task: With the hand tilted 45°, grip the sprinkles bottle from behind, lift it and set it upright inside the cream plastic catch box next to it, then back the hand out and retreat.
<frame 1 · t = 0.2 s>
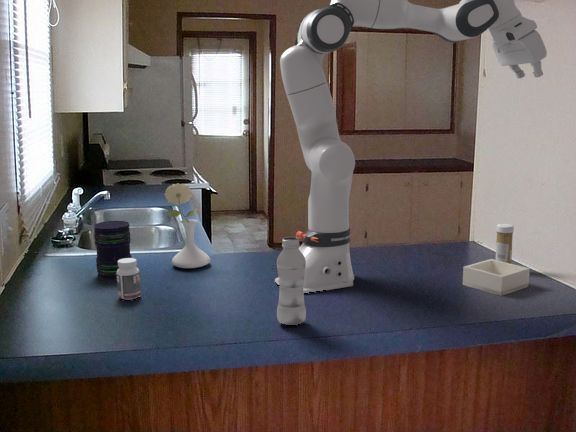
hand: (530, 76, 182), 54 cm above the countertop, tool tilted 30°, fingers open, 8 cm apart
plastic bottle: (291, 324, 153), on the countertop
pill bottle: (129, 298, 172), on the countertop
sprinkles bottle: (502, 271, 191), on the countertop
flower in vase: (188, 266, 200), on the countertop
storage jar: (115, 276, 192), on the countertop
catch box: (495, 285, 178), on the countertop
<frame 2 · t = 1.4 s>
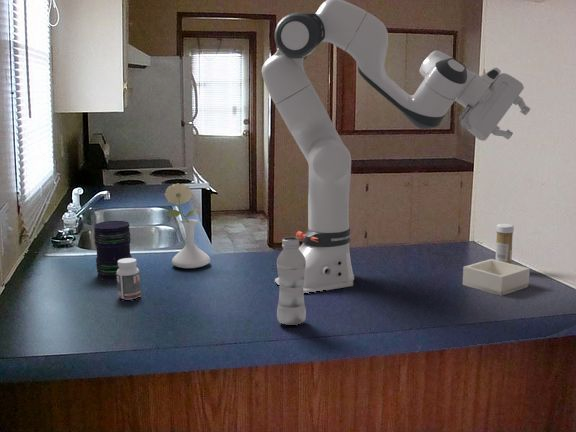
hand: (519, 124, 176), 42 cm above the countertop, tool tilted 55°, fingers open, 8 cm apart
nothing on the countertop moved.
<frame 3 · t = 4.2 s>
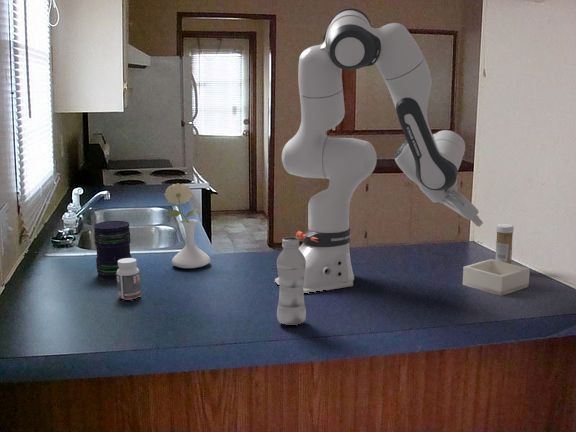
hand: (474, 220, 186), 15 cm above the countertop, tool tilted 45°, fingers open, 8 cm apart
nothing on the countertop moved.
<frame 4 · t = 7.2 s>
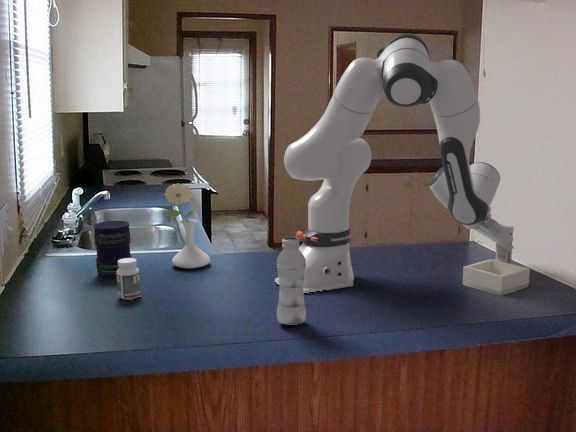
hand: (506, 246, 190), 7 cm above the countertop, tool tilted 45°, fingers closed on sprinkles bottle, 4 cm apart
sprinkles bottle: (502, 271, 191), on the countertop, touching gripper
everything else where it was.
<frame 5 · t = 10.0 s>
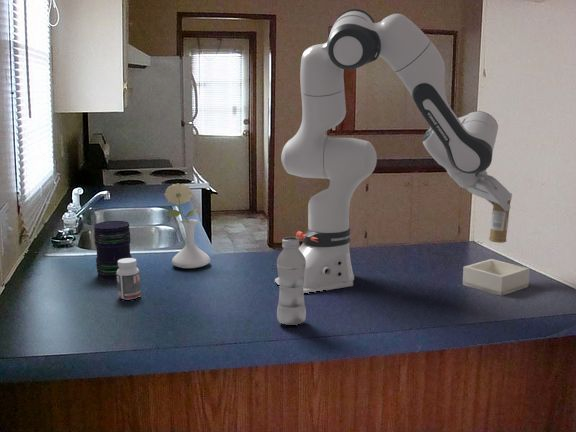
hand: (502, 207, 179), 20 cm above the countertop, tool tilted 45°, fingers closed on sprinkles bottle, 4 cm apart
sprinkles bottle: (497, 242, 181), point 11 cm above the countertop, touching gripper
everything else where it was.
when the fingers open (9 cm above the countertop, at t = 13.0 s): sprinkles bottle stays where it is, resting on catch box.
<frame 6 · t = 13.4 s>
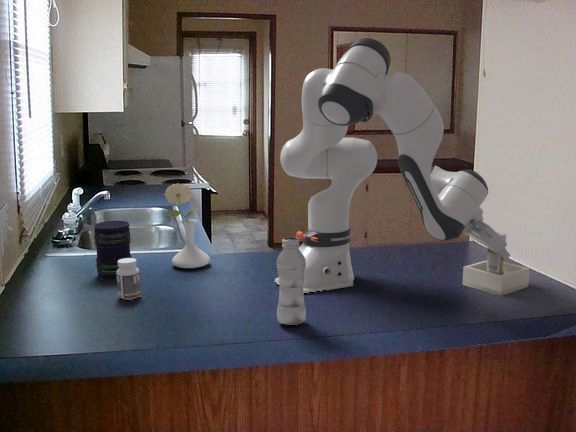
hand: (499, 252, 176), 9 cm above the countertop, tool tilted 45°, fingers open, 8 cm apart
sprinkles bottle: (494, 283, 177), point 1 cm above the countertop, touching catch box
everything else where it was.
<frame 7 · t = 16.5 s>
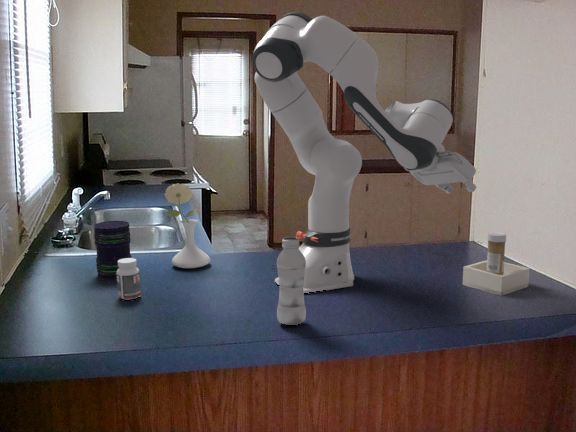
hand: (461, 190, 174), 25 cm above the countertop, tool tilted 45°, fingers open, 8 cm apart
nothing on the countertop moved.
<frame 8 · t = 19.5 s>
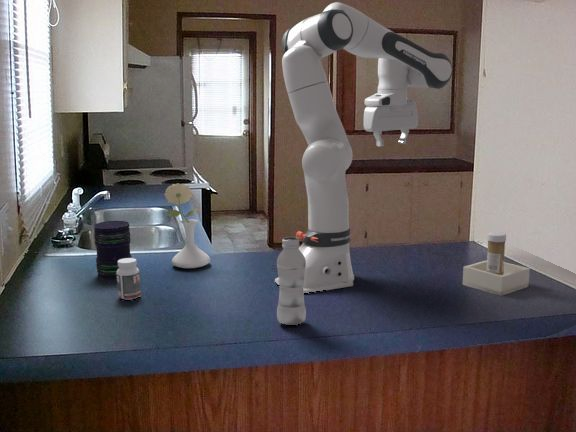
hand: (391, 145, 204), 34 cm above the countertop, tool pointing down, fingers open, 8 cm apart
nothing on the countertop moved.
at the end: sprinkles bottle inside the target area on the catch box (0.8 cm from its centre), point 0.8 cm above the catch box's base; sprinkles bottle tilted 0°; the gripper is holding nothing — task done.
